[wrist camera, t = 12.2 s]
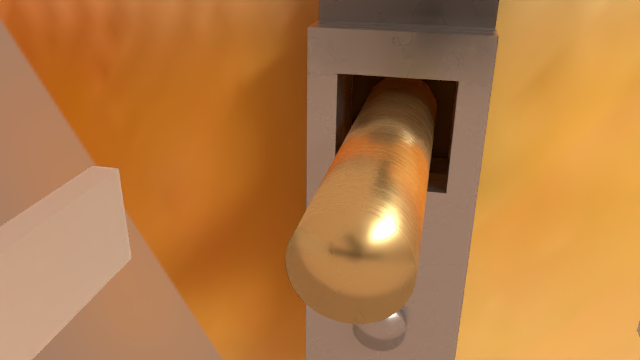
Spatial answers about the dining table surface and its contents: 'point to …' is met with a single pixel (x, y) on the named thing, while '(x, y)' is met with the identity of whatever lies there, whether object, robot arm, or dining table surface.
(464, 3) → the riveted square sleeve
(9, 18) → the dining table surface
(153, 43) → the dining table surface
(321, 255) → the brass pin
